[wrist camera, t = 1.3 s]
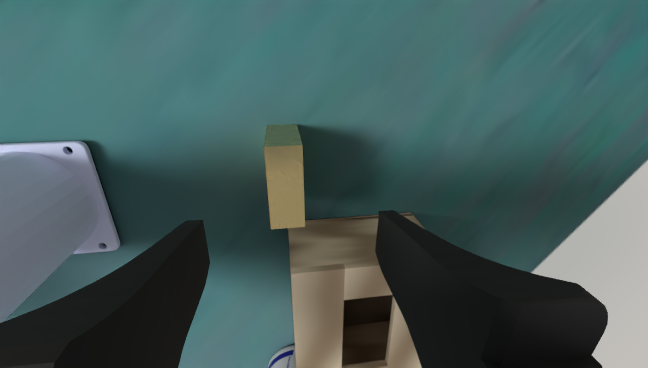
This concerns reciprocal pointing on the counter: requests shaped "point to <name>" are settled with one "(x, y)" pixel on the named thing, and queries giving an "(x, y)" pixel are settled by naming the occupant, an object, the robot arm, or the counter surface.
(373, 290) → the box
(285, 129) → the block
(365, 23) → the counter surface
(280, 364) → the energy drink
